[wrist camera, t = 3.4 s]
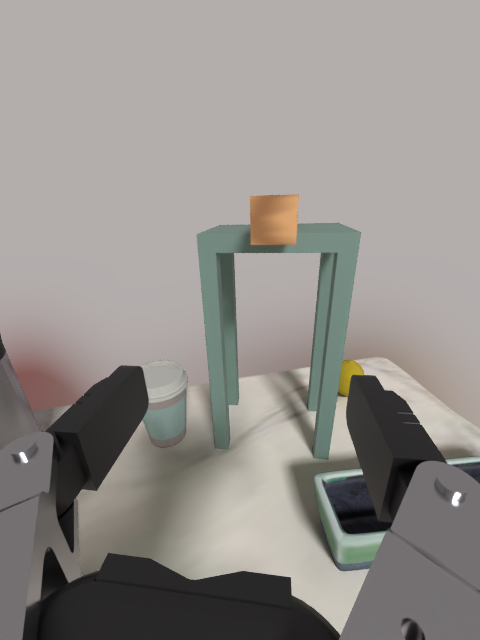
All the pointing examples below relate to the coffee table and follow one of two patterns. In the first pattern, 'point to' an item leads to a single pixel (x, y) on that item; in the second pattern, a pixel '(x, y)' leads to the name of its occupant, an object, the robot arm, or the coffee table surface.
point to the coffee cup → (165, 402)
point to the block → (274, 219)
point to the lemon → (348, 375)
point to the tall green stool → (328, 330)
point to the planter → (359, 514)
